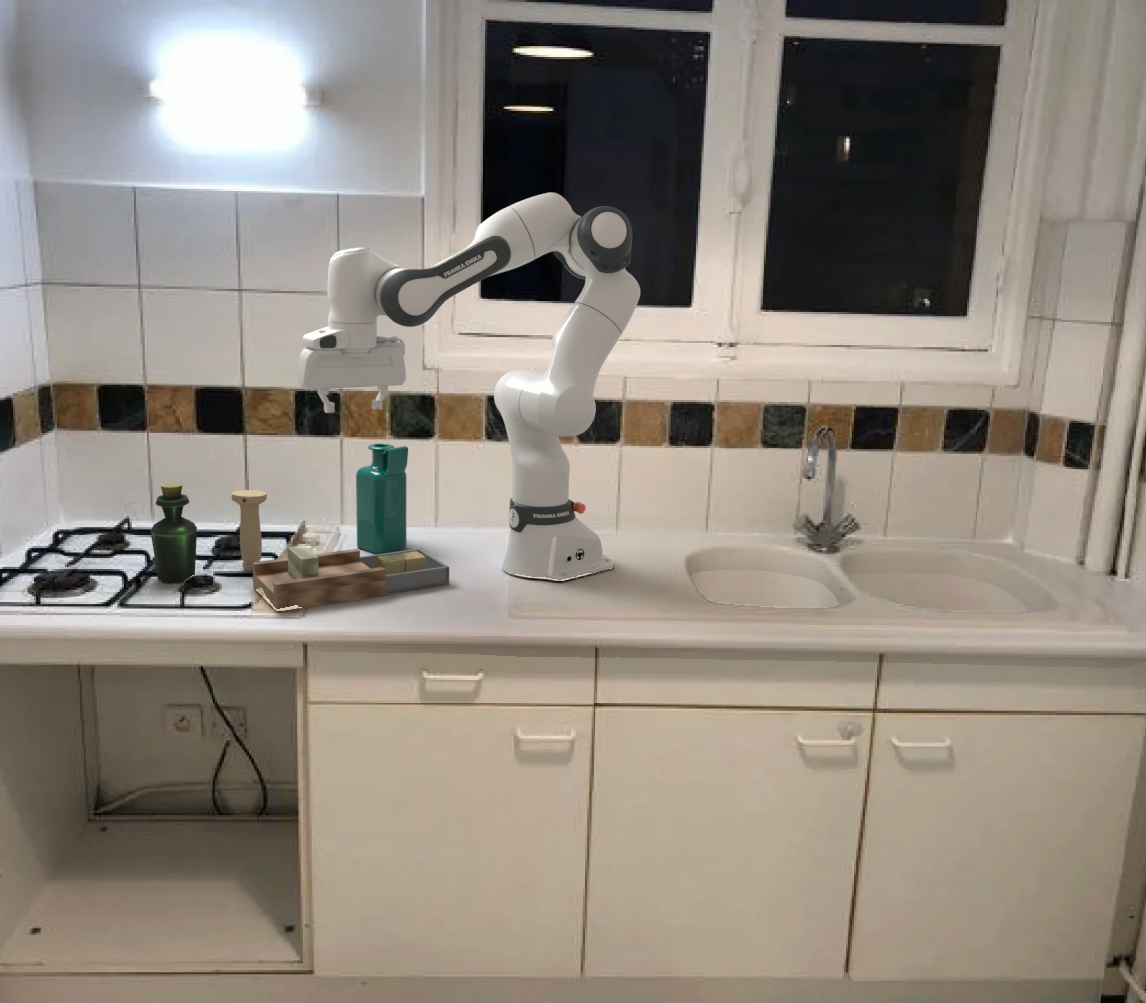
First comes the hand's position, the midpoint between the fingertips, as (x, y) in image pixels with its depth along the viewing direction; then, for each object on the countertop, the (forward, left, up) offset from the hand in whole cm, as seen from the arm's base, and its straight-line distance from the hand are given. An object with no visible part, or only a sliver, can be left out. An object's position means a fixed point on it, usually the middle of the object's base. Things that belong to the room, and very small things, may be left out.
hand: (353, 410), depth 205 cm
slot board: (+11, +10, -31) cm, 35 cm away
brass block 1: (-3, +10, -30) cm, 32 cm away
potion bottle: (+32, -8, -31) cm, 45 cm away
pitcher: (-10, -10, -31) cm, 34 cm away
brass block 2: (-5, +10, -28) cm, 31 cm away
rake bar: (+14, +11, -28) cm, 33 cm away
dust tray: (-6, +10, -31) cm, 33 cm away
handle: (+18, -8, -31) cm, 37 cm away
